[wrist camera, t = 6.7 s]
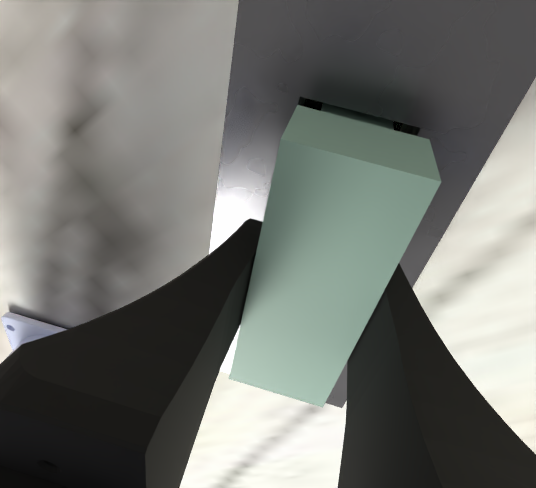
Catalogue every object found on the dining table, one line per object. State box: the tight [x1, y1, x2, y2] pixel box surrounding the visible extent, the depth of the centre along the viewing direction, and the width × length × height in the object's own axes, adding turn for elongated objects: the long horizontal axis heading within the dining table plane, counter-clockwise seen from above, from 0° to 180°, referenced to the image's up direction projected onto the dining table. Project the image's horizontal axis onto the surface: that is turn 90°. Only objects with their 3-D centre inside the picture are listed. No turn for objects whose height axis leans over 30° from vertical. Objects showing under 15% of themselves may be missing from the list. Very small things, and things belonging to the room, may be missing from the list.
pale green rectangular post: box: [229, 103, 441, 407], centre depth 12 cm, size 8×3×5 cm, turn 169°
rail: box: [209, 0, 536, 408], centre depth 14 cm, size 18×7×2 cm, turn 169°
